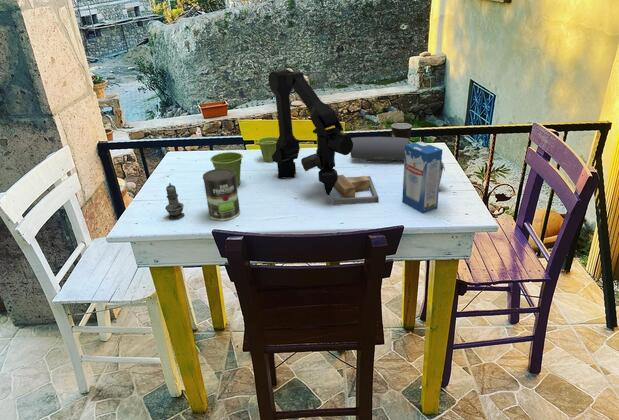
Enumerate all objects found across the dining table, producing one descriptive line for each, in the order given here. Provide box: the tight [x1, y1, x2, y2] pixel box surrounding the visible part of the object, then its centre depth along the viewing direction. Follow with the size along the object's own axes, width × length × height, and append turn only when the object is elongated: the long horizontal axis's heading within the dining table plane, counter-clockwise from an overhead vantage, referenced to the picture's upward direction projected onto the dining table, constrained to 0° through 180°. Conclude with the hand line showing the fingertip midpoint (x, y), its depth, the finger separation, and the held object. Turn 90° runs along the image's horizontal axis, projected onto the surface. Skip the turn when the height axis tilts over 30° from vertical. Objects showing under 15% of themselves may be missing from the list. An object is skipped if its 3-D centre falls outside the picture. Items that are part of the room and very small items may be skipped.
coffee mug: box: [390, 122, 413, 141], centre depth 197 cm, size 12×9×10 cm
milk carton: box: [401, 140, 443, 214], centre depth 144 cm, size 10×6×20 cm, turn 29°
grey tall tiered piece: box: [164, 182, 185, 221], centre depth 147 cm, size 6×6×12 cm
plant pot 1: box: [209, 151, 244, 187], centre depth 168 cm, size 12×12×11 cm
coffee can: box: [202, 168, 241, 222], centre depth 147 cm, size 10×10×14 cm
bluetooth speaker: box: [350, 136, 410, 163], centre depth 184 cm, size 23×9×10 cm, turn 80°
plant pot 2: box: [257, 136, 279, 163], centre depth 191 cm, size 9×9×9 cm
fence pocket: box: [332, 175, 380, 206], centre depth 159 cm, size 15×18×2 cm
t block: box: [333, 174, 370, 198], centre depth 160 cm, size 11×12×4 cm
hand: (326, 189), depth 159 cm, fingers open, 9 cm apart
